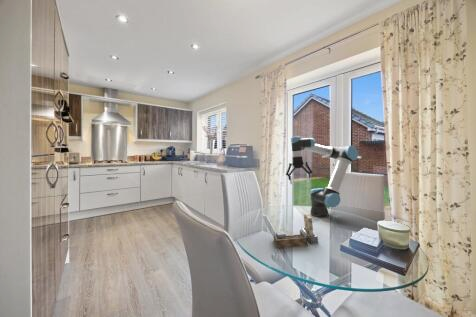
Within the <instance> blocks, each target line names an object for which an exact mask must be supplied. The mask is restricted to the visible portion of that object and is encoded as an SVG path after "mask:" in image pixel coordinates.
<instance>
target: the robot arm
mask: <svg viewBox="0 0 476 317" xmlns="http://www.w3.org/2000/svg"><path fill="white" fill-rule="evenodd" d="M290 146H291V156H292V163H290V162H289V163H288V168H287V170H286V172H285V176H287V179H288V180H289V184H290V185H293V181H292V180H293V177H292V174H293V173H294V171H295V170H296V169H303V170H304V172H306V180H307V183H311V182H310V179H311V174H312V173H313V171H312V169H311V168H310V166H309V164H308V162H307V161H304V160H303V151H307V152H312V153H315V154H320V155H323V156H325V157H327V158H331V159H335V160H336V161H337V163H336V165H335V168H334V170H333V172H332V175H331V178H330V179H329V183H328V185H327V186H326V187H320V188H319V187H317V188H312V189H310V200H311V207H310V212H309V213H310V214H309V215H310V216H312V217H316V218H325V217H328V216H329V215H330V214H329V213H330V212H329V210H328V208H336V207H338V205H339V204H340V203H341V196H340V194H341V193H340V191H339V190H340V189H341V186H342V182H343V180H344V177H345V176H346V172H347V170H348V167H349V165H351V164H352V163H353V161H354V160H356V159H357V158H358V157H359V151H358V149H357V148H356V146H354V145H345V146H344V145H342V146H340V145H339V146H327V145H326V146H325V145H321V144H318V143H316V140H315V138H313V137H306V138H302V137H301V136H292V137H290ZM302 150H303V151H302ZM292 166H293V167H292ZM327 207H328V208H327Z"/></svg>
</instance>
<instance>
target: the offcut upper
mask: <svg viewBox="0 0 476 317" xmlns="http://www.w3.org/2000/svg"><path fill="white" fill-rule="evenodd" d="M275 234H276V237H277V238H285V237H286V236H287V233H286V232H285V231H284V230H283V231H276V232H275Z"/></svg>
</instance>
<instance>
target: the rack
mask: <svg viewBox="0 0 476 317" xmlns="http://www.w3.org/2000/svg"><path fill="white" fill-rule="evenodd" d="M272 233H273V240H274V243H275V246H276V249H284V248H285V249H286V248H294V247H296V248H297V247H308V246H309V242H308V241H307V237H306V235H305V234H304V233H303V231H302V229H299V233H298V234H290V235H289V234H288V235H286V237H285V238H277V237H276V232H274V231H273V232H272Z"/></svg>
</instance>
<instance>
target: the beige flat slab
mask: <svg viewBox="0 0 476 317" xmlns="http://www.w3.org/2000/svg"><path fill="white" fill-rule="evenodd" d="M303 223H304V227H305V231H306V232H307V233H308V235H309V236H314V235H313V232H314V227H313V218H312V217H311V215H310V214H309V213H307V212H304V213H303Z"/></svg>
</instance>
